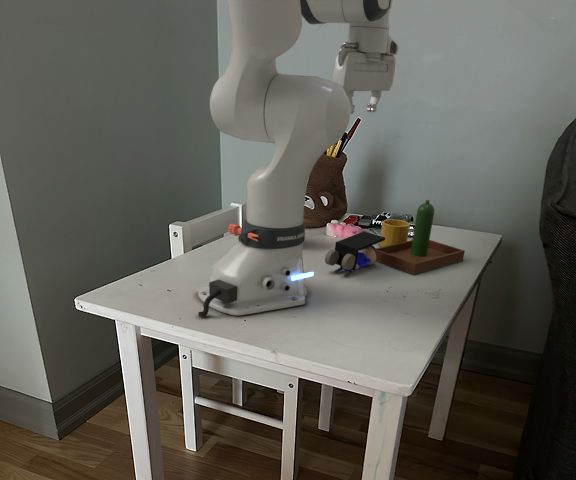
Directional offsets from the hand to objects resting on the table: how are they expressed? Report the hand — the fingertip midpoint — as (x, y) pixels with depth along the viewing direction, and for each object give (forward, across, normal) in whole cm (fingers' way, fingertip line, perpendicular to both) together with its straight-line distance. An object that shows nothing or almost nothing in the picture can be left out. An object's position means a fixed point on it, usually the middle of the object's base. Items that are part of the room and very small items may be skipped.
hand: (360, 112), depth 129 cm
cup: (+31, +8, -9) cm, 33 cm away
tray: (+31, +2, -20) cm, 37 cm away
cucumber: (+30, +4, -19) cm, 36 cm away
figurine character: (+31, -16, -13) cm, 38 cm away
